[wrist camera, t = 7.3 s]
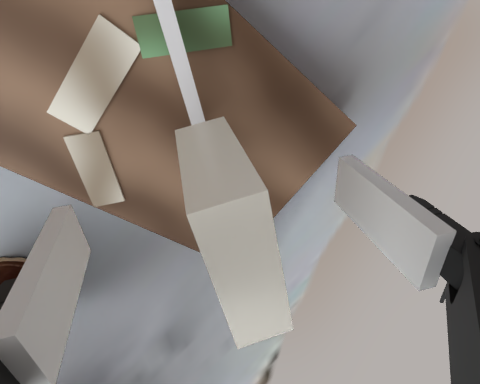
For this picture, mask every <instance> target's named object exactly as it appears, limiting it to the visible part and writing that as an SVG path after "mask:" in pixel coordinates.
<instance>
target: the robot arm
mask: <svg viewBox="0 0 480 384" xmlns="http://www.w3.org/2000/svg"><path fill="white" fill-rule="evenodd" d="M334 202H335V203H336V204H337V205H338V206H339V207H340V208H341V209H342V210H343V211H344V212H345V213H346V214H347V216H348V217H349V218H350V219H351V220H352V221H353V222H354V223H355V224H356V225H357V226H358V227H359V228H360V229H361V230H362V231H363V232H364V234H365V235H366V236H367V237H368V238H369V239H370V240H371V241H372V242H373V243H374V244H375V245H376V246H377V247H378V249H379V250H380V251H381V252H382V253H383V254H384V255H385V256H386V257H387V258H388V259H389V260H390V261H391V262H392V263H393V265H394V266H395V267H396V268H397V269H398V270H399V271H400V272H401V273H402V274H403V275H404V276H405V277H406V278H407V279H408V280H409V282H410V283H411V284H412V285H413V286H414V287H415V288H416V289H417V290H418V291H421V290H425V289H429V288H432V287H436V285H437V282H438V279H439V277H440V275H441V276H442V277H443V278H444V279H445V280H446V281H447V284H446V287H445V289H444V292H443V294H442V296H441V299H440V303H443V302H444V300H445V299H446V311H447V326H448V342H449V359H450V374H451V384H480V232H473V233H471V232H470V231H468V230H467V229H465V228H464V227H463V226H461V225H460V224H458V223H457V222H455V221H454V220H453V219H451V218H450V217H448V216H447V215H445V214H442V212H441V211H440V210H438V209H437V208H434V206H433V205H431V204H430V203H428V202H427V201H426V200H424V199H421V198H419V197H416V196H414V195H409V196H408V195H407V194H405V193H404V192H403V191H401V190H400V189H399V188H397V187H396V186H394V185H393V184H392V183H390V182H389V181H388V180H386V179H385V178H383V177H382V176H381V175H379V174H378V173H377V172H375V171H374V170H373V169H371V168H370V167H369V166H367V165H366V164H364V163H363V162H362V161H360V160H359V159H358V158H356V157H355V156H353V155H348V156H342V157H339V161H338V171H337V180H336V189H335V199H334ZM90 253H91V249H90V247H89V245H88V242H87V240H86V238H85V236H84V233H83V231H82V229H81V226H80V224H79V222H78V219H77V217H76V215H75V212H74V210H73V208H72V206H71V205H66V206H61V207H55V208H53V209H52V211H51V213H50V215H49V216H48V218H47V220H46V222H45V224H44V226H43V228H42V230H41V232H40V234H39V236H38V238H37V240H36V242H35V244H34V246H33V248H32V250H31V251H30V253H29V255H28V257H27V259H26V261H25V263H24V265H23V267H22V269H21V271H20V273H19V275H18V277H17V278H15V279H10V280H5V281H4V282H3V283H2V284H1V285H0V384H56V381H57V377H58V374H59V370H60V366H61V362H62V359H63V355H64V351H65V347H66V343H67V340H68V336H69V332H70V328H71V325H72V321H73V317H74V313H75V309H76V306H77V302H78V298H79V294H80V290H81V287H82V283H83V279H84V275H85V272H86V268H87V264H88V260H89V256H90Z"/></svg>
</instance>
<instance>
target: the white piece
mask: <svg viewBox="0 0 480 384" xmlns="http://www.w3.org/2000/svg"><path fill="white" fill-rule="evenodd" d="M153 2H154V5H155V8H156V11H157V15H158V18H159V21H160V24H161V28H162V31H163V34H164V37H165V41H166V44H167V47H168V50H169V54H170V57H171V60H172V63H173V67H174V70H175V73H176V76H177V80H178V83H179V86H180V89H181V93H182V96H183V99H184V102H185V106H186V109H187V112H188V115H189V119H190V122H191V126H188V127H184V128H181V129H177V130H175V136H176V144H177V151H178V158H179V166H180V173H181V180H182V188H183V195H184V202H185V210H186V216H187V218H188V221H189V224H190V226H191V229H192V231H193V234H194V237H195V239H196V242H197V244H198V247H199V250H200V252H201V255H202V257H203V260H204V263H205V265H206V268H207V271H208V273H209V276H210V278H211V281H212V284H213V286H214V289H215V291H216V294H217V297H218V299H219V302H220V304H221V307H222V310H223V312H224V315H225V317H226V320H227V323H228V325H229V328H230V331H231V333H232V336H233V338H234V341H235V344H236V346H237V349H240V348H243V347H246V346H249V345H252V344H254V343H257V342H260V341H263V340H266V339H269V338H272V337H275V336H278V335H280V334H283V333H286V332H289V331H292V330H294V329H293V323H292V318H291V312H290V307H289V302H288V296H287V291H286V285H285V280H284V275H283V269H282V264H281V258H280V253H279V248H278V242H277V237H276V231H275V226H274V221H273V215H272V210H271V204H270V199H269V193H268V189H267V188H266V186H265V184H264V183H263V181H262V179H261V178H260V176H259V174H258V173H257V171H256V169H255V168H254V166H253V164H252V163H251V161H250V159H249V158H248V156H247V154H246V153H245V151H244V149H243V148H242V146H241V144H240V143H239V141H238V139H237V138H236V136H235V134H234V133H233V131H232V129H231V128H230V126H229V124H228V123H227V121H226V119H225V118H224V116H223V117H220V118H216V119H213V120H209V121H205V119H204V115H203V111H202V108H201V104H200V101H199V97H198V93H197V90H196V86H195V83H194V79H193V76H192V72H191V68H190V65H189V61H188V58H187V54H186V51H185V47H184V43H183V40H182V36H181V33H180V29H179V25H178V22H177V18H176V15H175V11H174V8H173V4H172V0H153Z"/></svg>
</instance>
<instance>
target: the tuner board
mask: <svg viewBox="0 0 480 384" xmlns="http://www.w3.org/2000/svg"><path fill="white" fill-rule="evenodd" d="M172 4H173V8H174V11H175V15H176V18H177V22H178V25H179V29H180V33H181V36H182V40H183V43H184V47H185V51H186V54H187V58H188V61H189V65H190V68H191V72H192V76H193V79H194V83H195V86H196V90H197V93H198V97H199V101H200V104H201V108H202V111H203V115H204V119H205V121H209V120H213V119H216V118H220V117H223V116H224V118H225V119H226V121H227V123H228V124H229V126H230V128H231V129H232V131H233V133H234V134H235V136H236V138H237V139H238V141H239V143H240V144H241V146H242V148H243V149H244V151H245V153H246V154H247V156H248V158H249V159H250V161H251V163H252V164H253V166H254V168H255V169H256V171H257V173H258V174H259V176H260V178H261V179H262V181H263V183H264V184H265V186H266V188H267V189H268V193H269V199H270V204H271V210H272V215H273V218H274V217H275V216H276V215H277V213H278V212H279V211H280V210H281V209H282V208H283V207H284V206H285V205H286V203H287V202H288V201H289V200H290V199H291V198H292V197H293V196H294V194H295V193H296V192H297V191H298V190H299V189H300V188H301V187H302V186H303V184H304V183H305V182H306V181H307V180H308V179H309V178H310V177H311V176H312V174H313V173H314V172H315V171H316V170H317V169H318V168H319V167H320V166H321V164H322V163H323V162H324V161H325V160H326V159H327V158H328V157H329V156H330V154H331V153H332V152H333V151H334V150H335V149H336V148H337V147H338V146H339V144H340V143H341V142H342V141H343V140H344V139H345V138H346V137H347V136H348V134H349V133H350V132H351V131H352V130H353V129H354V128H355V127H356V126H357V125H356V124H355V123H354V122H353V121H351V120H350V119H349V118H348V117H347V116H346V115H345V114H344V113H343V112H342V111H341V110H340V109H339V108H338V107H337V106H336V105H335V104H334V103H333V102H331V101H330V100H329V99H328V98H327V97H326V96H325V95H324V94H323V93H322V92H321V91H320V90H319V89H318V88H317V87H316V86H315V85H314V84H313V83H311V82H310V81H309V80H308V79H307V78H306V77H305V76H304V75H303V74H302V73H301V72H300V71H299V70H298V69H297V68H296V67H295V66H294V65H293V64H291V63H290V62H289V61H288V60H287V59H286V58H285V57H284V56H283V55H282V54H281V53H280V52H279V51H278V50H277V49H276V48H275V47H274V46H273V45H271V44H270V43H269V42H268V41H267V40H266V39H265V38H264V37H263V36H262V35H261V34H260V33H259V32H258V31H257V30H256V29H255V28H254V27H253V26H251V25H250V24H249V23H248V22H247V21H246V20H245V19H244V18H243V17H242V16H241V15H240V14H239V13H238V12H237V11H236V10H235V9H234V8H233V7H231V6H230V5H229V4H228V3H227V2H226V1H225V0H172ZM188 126H191V122H190V119H189V115H188V112H187V109H186V106H185V102H184V99H183V96H182V93H181V89H180V86H179V83H178V80H177V76H176V73H175V70H174V67H173V63H172V60H171V57H170V54H169V50H168V47H167V44H166V41H165V37H164V34H163V31H162V28H161V24H160V21H159V18H158V15H157V11H156V8H155V5H154V2H153V0H0V166H1V167H3V168H6V169H8V170H10V171H13V172H15V173H17V174H20V175H22V176H24V177H27V178H29V179H31V180H34V181H36V182H38V183H41V184H43V185H45V186H47V187H50V188H52V189H54V190H57V191H59V192H61V193H64V194H66V195H68V196H71V197H73V198H75V199H78V200H80V201H82V202H85V203H87V204H89V205H92V206H94V207H96V208H98V209H101V210H103V211H105V212H108V213H110V214H112V215H115V216H117V217H119V218H122V219H124V220H126V221H129V222H131V223H133V224H136V225H138V226H140V227H142V228H145V229H147V230H149V231H152V232H154V233H156V234H159V235H161V236H163V237H166V238H168V239H170V240H173V241H175V242H177V243H180V244H182V245H184V246H186V247H189V248H191V249H193V250H196V251H198V252H200V250H199V247H198V244H197V242H196V239H195V237H194V234H193V231H192V229H191V226H190V224H189V221H188V218H187V216H186V210H185V202H184V195H183V188H182V180H181V173H180V166H179V158H178V151H177V144H176V136H175V130H177V129H181V128H184V127H188ZM200 253H201V252H200Z"/></svg>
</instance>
